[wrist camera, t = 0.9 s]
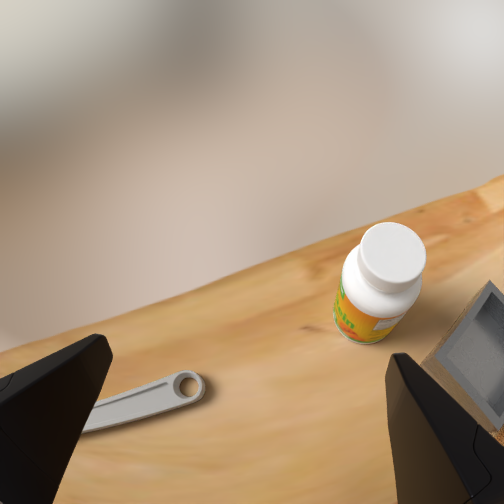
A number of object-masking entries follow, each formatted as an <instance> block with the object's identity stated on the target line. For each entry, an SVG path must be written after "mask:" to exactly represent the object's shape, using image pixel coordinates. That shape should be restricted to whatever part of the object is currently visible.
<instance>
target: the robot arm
mask: <svg viewBox="0 0 504 504" xmlns="http://www.w3.org/2000/svg"><path fill="white" fill-rule="evenodd" d="M112 359H113V354H112V351H111V348H110V346H109V343H108V341H107V339H106V337H105V336H104V335H101V334H92V335H90V336H88V337H86V338H84V339H82V340H80V341H77V342H75V343H73V344H71V345H69V346H67V347H65V348H63V349H61V350H59V351H57V352H55V353H53V354H51V355H49V356H47V357H44V358H42V359H40V360H38V361H36V362H34V363H32V364H30V365H28V366H26V367H24V368H22V369H20V370H18V371H16V372H15V373H11V374H9V375H7V376H5V377H3V378H1V379H0V504H53V501H54V498H55V496H56V493H57V491H58V488H59V485H60V483H61V480H62V478H63V475H64V473H65V470H66V468H67V465H68V463H69V461H70V458H71V456H72V453H73V451H74V449H75V447H76V444H77V442H78V440H79V437H80V435H81V433H82V431H83V429H84V426H85V424H86V422H87V420H88V418H89V416H90V413H91V411H92V409H93V407H94V405H95V403H96V401H97V399H98V396H99V394H100V392H101V389H102V386H103V383H104V381H105V378H106V375H107V373H108V370H109V367H110V365H111V362H112ZM385 384H386V398H387V417H388V429H389V436H390V442H391V449H392V456H393V463H394V471H395V480H396V489H397V500H398V504H504V446H503V445H501V444H500V443H499V442H498V441H497V440H496V439H495V438H494V437H493V436H492V435H491V434H489V433H488V432H487V431H486V430H485V429H484V428H483V427H482V426H481V425H480V424H478V422H477V421H476V420H475V419H474V418H473V417H472V416H471V415H470V414H469V413H468V412H467V411H466V410H465V409H464V408H463V407H462V406H461V405H460V404H459V403H458V402H457V401H456V400H455V399H454V398H453V397H452V396H451V395H450V394H449V393H448V392H447V391H446V390H445V389H444V388H442V387H441V386H440V385H439V384H438V383H437V382H436V381H435V380H434V379H433V378H432V377H431V376H430V375H429V374H428V373H427V372H426V371H425V370H424V369H423V368H422V367H420V366H419V365H418V364H417V363H416V362H415V361H414V360H413V359H412V358H411V357H410V356H409V355H408V354H406V353H394V354H392V355H391V357H390V361H389V364H388V368H387V371H386V376H385Z"/></svg>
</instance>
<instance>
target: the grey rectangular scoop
mask: <svg viewBox="0 0 504 504" xmlns="http://www.w3.org/2000/svg"><path fill="white" fill-rule="evenodd" d="M420 366H421V367H422V368H423V369H424V370H425V371H426V372H427V373H428V374H429V375H430V376H431V377H432V378H433V379H434V380H435V381H436V382H437V383H438V384H439V385H440V386H441V387H442V388H444V389H445V390H446V391H447V392H448V393H449V394H450V395H451V396H452V397H453V398H454V399H455V400H456V401H457V402H458V403H459V404H460V405H461V406H462V407H463V408H464V409H465V410H466V411H467V412H468V413H469V414H470V415H471V416H472V417H473V418H474V419H475V420H476V421H477V422H478V424H480V425H481V426H482V427H483V428H484V429H485V430H486V431H487V432H495V431H499V430H500V428H501V427H502V425H503V424H504V295H503V294H502V293H501V292H500V291H499V289H498V288H497V287H496V286H495V285H494V284H493V283H492V282H491V281H490V280H489V281H488V282H487V283H486V284H485V286H484V287H483V288H482V289H481V290H480V291H479V292H478V293H477V294H476V295H475V296H474V297H473V299H472V300H471V302H470V303H469V304H468V306H467V307H466V309H465V310H464V311H463V313H462V314H461V315H460V317H459V318H458V319H457V321H456V322H455V323H454V325H453V326H452V327H451V328H450V330H449V331H448V332H447V333H446V335H445V336H444V337H443V338H442V340H441V341H440V342H439V343H438V344H437V346H436V347H435V348H434V349H433V350H432V352H431V353H430V354H429V355H428V356H427V357H426V358H425V360H424V361H423V362H422V363H421V364H420Z"/></svg>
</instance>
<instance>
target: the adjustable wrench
mask: <svg viewBox="0 0 504 504" xmlns="http://www.w3.org/2000/svg"><path fill="white" fill-rule="evenodd" d="M187 377H192V378H194V379H195V380H196V381H197V382H198V385H199V390H198V392H197V393H196V394H195V395H194V396H192V397H186V396H184V395H183V394H182V393H181V392H180V389H179V385H180V383H181V381H182V380H183V379H184V378H187ZM205 387H206V386H205V382H204V380H203V379H202V377H201V376H199V375H198V374H197V373H195V372H193V371H190V370H183V371H179V372H177V373H174V374H172V375H169V376H167V377H164V378H162V379H159V380H156V381H154V382H151V383H148V384H146V385H143V386H140V387H138V388H135V389H132V390H129V391H126V392H124V393H121V394H118V395H115V396H112V397H109V398H106V399H103V400H100V401H97V402H96V403H95V405H94V407H93V409H92V411H91V413H90V416H89V418H88V420H87V422H86V424H85V426H84V429H83V431H82V433H86V432H91V431H96V430H100V429H104V428H109V427H113V426H117V425H121V424H125V423H129V422H132V421H136V420H140V419H143V418H147V417H150V416H154V415H157V414H160V413H163V412H167V411H170V410H173V409H176V408H179V407H182V406H185V405H188V404H191V403H194V402H197V401H198V400H200V399H201V398H202V397H203V395H204V393H205ZM82 433H81V434H82Z"/></svg>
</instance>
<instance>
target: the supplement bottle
mask: <svg viewBox="0 0 504 504" xmlns="http://www.w3.org/2000/svg"><path fill="white" fill-rule="evenodd" d="M425 264H426V250H425V247H424V244H423V242H422V241H421V239H420V238H419V236H418V235H417V234H416V233H415V232H414V231H412V230H411V229H410V228H408V227H406V226H404V225H402V224H399V223H393V222H384V223H379V224H376V225H374V226H372V227H371V228H370V229H369V230H367V232H366V233H365V234H364V236H363V238H362V240H361V243H360V244H359V245H358V246H356V247H355V248H354V249H353V250H352V251H351V252H350V253H349V255H348V256H347V258H346V260H345V263H344V266H343V270H342V274H341V279H340V283H339V287H338V291H337V295H336V299H335V303H334V308H333V317H334V321H335V324H336V327H337V328H338V330H339V331H340V333H341V334H342V335H343V336H344V337H346V338H347V339H349V340H350V341H352V342H355V343H359V344H371V343H375V342H378V341H380V340H382V339H383V338H384V337H386V336H387V335H388V334H389V333H390V332H391V331H392V329H393V328H394V327H395V326H396V325H397V324H398V322H399V321H400V320H401V319H402V317H403V316H404V315H405V314H406V313H407V311H408V310H409V309H410V308H411V306H412V305H413V304H414V302H415V301H416V299H417V297H418V296H419V293H420V290H421V286H422V274H421V273H422V271H423V270H424V267H425Z"/></svg>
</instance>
